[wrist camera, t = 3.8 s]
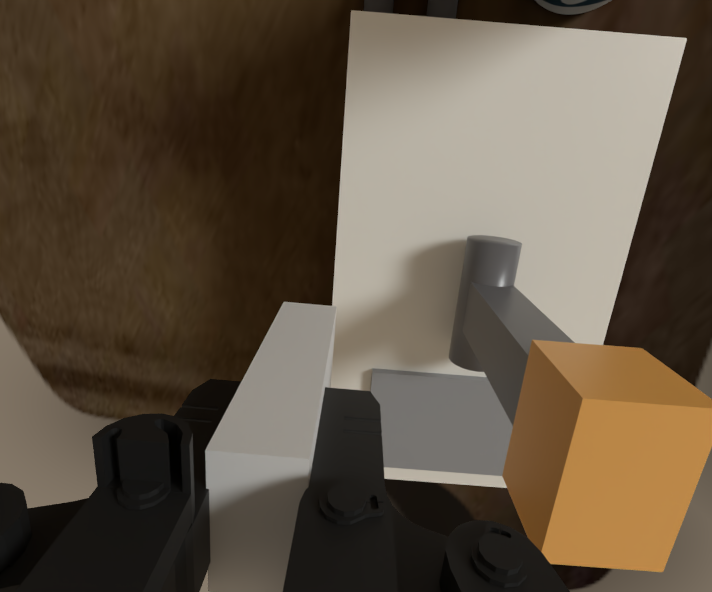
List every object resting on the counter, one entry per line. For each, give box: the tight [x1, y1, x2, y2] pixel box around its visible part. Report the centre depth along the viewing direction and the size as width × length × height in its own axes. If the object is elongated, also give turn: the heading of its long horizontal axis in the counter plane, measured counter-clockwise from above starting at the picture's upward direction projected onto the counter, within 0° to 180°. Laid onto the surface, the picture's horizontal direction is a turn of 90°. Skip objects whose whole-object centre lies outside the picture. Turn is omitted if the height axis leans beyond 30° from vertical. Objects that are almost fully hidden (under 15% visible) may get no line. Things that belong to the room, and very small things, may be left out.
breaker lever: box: [449, 235, 712, 572], centre depth 13 cm, size 5×2×11 cm, turn 176°
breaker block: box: [330, 10, 687, 488], centre depth 22 cm, size 20×12×7 cm, turn 176°
